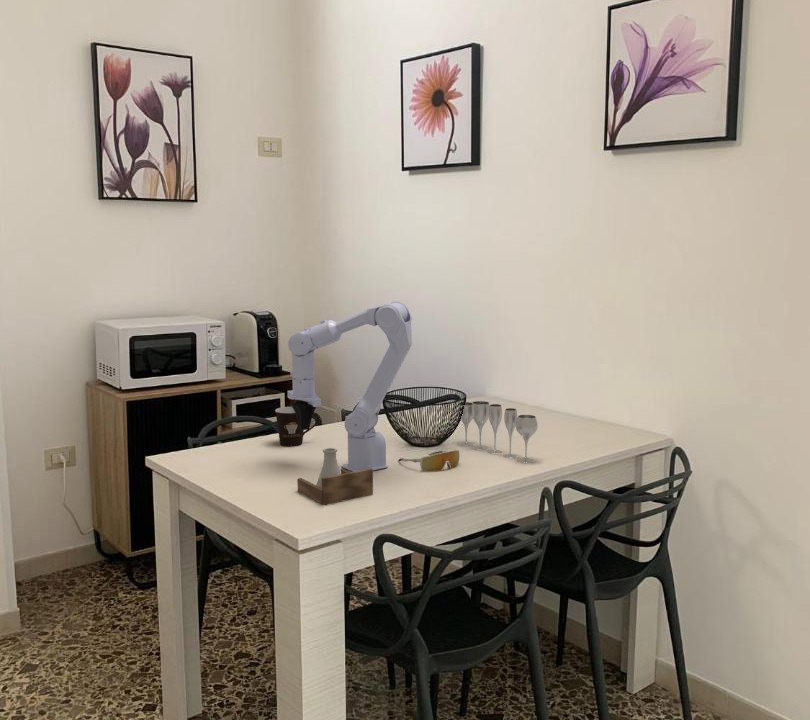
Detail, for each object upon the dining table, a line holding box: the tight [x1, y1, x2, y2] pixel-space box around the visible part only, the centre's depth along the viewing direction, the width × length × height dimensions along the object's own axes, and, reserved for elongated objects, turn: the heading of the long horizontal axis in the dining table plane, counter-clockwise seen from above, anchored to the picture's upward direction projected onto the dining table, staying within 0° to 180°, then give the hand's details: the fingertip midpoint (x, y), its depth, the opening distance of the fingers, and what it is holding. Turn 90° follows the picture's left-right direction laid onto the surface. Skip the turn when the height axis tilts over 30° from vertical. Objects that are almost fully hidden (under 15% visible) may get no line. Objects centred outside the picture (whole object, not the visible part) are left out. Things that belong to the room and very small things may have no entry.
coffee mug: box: [275, 406, 320, 448], centre depth 238 cm, size 12×9×10 cm
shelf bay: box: [296, 468, 374, 506], centre depth 194 cm, size 13×12×6 cm
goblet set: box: [458, 400, 538, 464], centre depth 228 cm, size 28×6×13 cm, turn 40°
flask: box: [315, 447, 341, 488], centre depth 195 cm, size 7×7×10 cm
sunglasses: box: [398, 449, 460, 472], centre depth 218 cm, size 14×15×5 cm
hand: (304, 429), depth 216 cm, fingers closed
